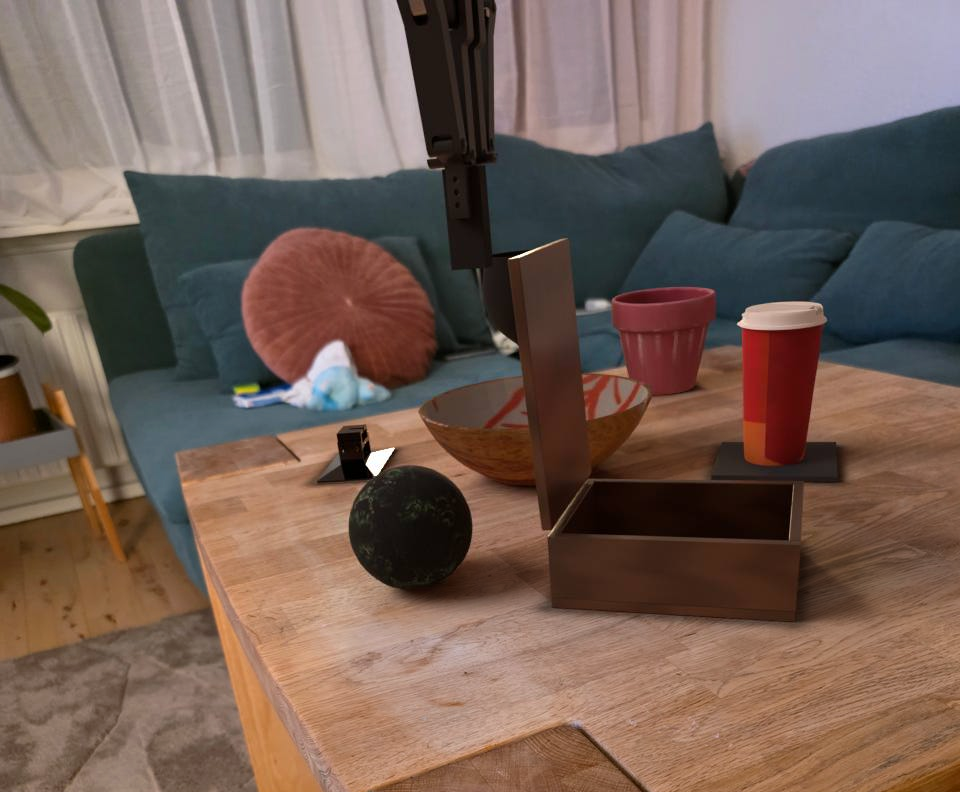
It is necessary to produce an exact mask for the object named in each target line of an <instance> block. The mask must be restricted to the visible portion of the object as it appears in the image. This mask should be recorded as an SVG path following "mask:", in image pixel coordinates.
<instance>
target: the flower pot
mask: <svg viewBox="0 0 960 792" xmlns="http://www.w3.org/2000/svg"><path fill="white" fill-rule="evenodd" d="M716 308H717V292H716V291H715V289H711V288H706V287H698V286H697V287H696V286H670V287H668V286H667V287H656V288H647V289H641V290H640V289H639V290H635V291H629V292H624V293H622V294H618V295H616V296H614V297H613V298H612V299H611V324H612V327H613V328H614V329H617V330H618V334H619V340H620V345H621V349H622V354H623V358H624V363H625V368H626V372H627V377H628V378H631V379H634V380H637V381H641V382H643V383H645V384H647V385H648V386H650V387H651V389H652V390H653V395H654V396H657V395H658V396H660V395H661V396H662V395H672V394H679V393H682V392H686V391H689V390H691V389H693V388H694V387H695V386H696V381H697V377H698V373H699V369H700V366H701V362H702V357H703V353H704V348H705V344H706V340H707V334H708V330H709V325H710V323H712V322H714V321H715V319H716V312H717V311H716V310H717V309H716ZM653 395H652V396H653Z"/></svg>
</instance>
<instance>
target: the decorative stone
mask: <svg viewBox="0 0 960 792" xmlns="http://www.w3.org/2000/svg"><path fill="white" fill-rule="evenodd" d="M473 529H474V527H473V517H472V512H471V508H470V506H469V503H468V501H467V500H466V497H465V496H464V494H463V492H462V490H461V489H460V488H459V487H458V485H456V483H455V482H454V481H452V480H451V479H450V478H449V477H447V476H446V475H445V474H443V473H441V472H440V471H438V470H436V469H433V468H431V467H427V466H423V465H415V464H406V465H398V466H393V467H391V468H387V469H385V470H382V471H381V473H379V474H378V475H376V476H374V477H373V478H372V479H371V480H370V481H366V483H365V484H364V485H363V487H361V489H360V490H359V492H358V493H357V495H356V497H355V498H354V501H353V502H352V505H351V508H350V513H349V518H348V538H349V543H350V547H351V549H352V551H353V554H354V555H355V557H356V560H357V561H358V562H359V564H360V566H361V567H362V568H363V569H364V570H365V571H366V572H367V573H368V574H369V575H370V576H372V577H373V578H374V579H376V580H377V581H379V582H380V583H382V584H383V585H385V586H388V587H390V588H393V589H398V590H406V591H415V590H416V591H421V590H426V589H429V588H432V587H435V586H437V585H440V584H441V583H442V582H445V580H447V579H448V578H450V577H451V576H452V575H454V573H455V572H456V571H457V570H458V569H459V568H460V567H461V565H462V563H463V562H464V560H465V559H466V558H467V555H468V553H469V550H470V547H471V545H472V544H471V543H472V540H473Z"/></svg>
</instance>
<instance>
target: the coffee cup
mask: <svg viewBox="0 0 960 792" xmlns="http://www.w3.org/2000/svg"><path fill="white" fill-rule="evenodd" d="M741 317H742V318H741V320H740V321H738V322H737V323H736V325H737V326H739V327H740V328H741V352H742V353H741V355H742V357H741V358H742V359H741V361H742V362H741V363H742V417H743V418H742V422H743V424H742V426H743V427H742V428H743V430H742V431H743V442H744V457H745V460H746V461H748V462H750V463H753V464H757V465H764V466H782V465H790V464H794V463H797V462H799V461H801V460H802V459H803V457H804V452H805V447H806V442H807V441H808V433H809V427H810V426H809V425H810V419H811V412H812V405H813V398H814V391H815V385H816V378H817V374H818V373H817V371H818V367H819V366H818V365H819V359H820V353H821V352H820V351H821V343H822V337H823V336H822V335H823V327H824V324H825V323H827V322H828V319H827V317H826V316H825V315H824V306H823V305H822V304H821V303H819V302H813V301H778V302H766V303H761V304H755V305H751V306H748V307H746V308H745V311H744V312H743V313H741Z"/></svg>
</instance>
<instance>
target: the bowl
mask: <svg viewBox="0 0 960 792" xmlns="http://www.w3.org/2000/svg"><path fill="white" fill-rule="evenodd" d="M582 381H583V391H584V401H585V411H586V422H587V432H588V442H589V453H590V463H591V470H592V469H594V468H595V467H597V466H598V465H599V464H601V463H603V462H604V461H605V460H607V459H608V458H610V457H612V456H613V455H614V454H615V453H616V452H617V451H618V450H619V449H620V448H621V447H622V445H624V443H625V442H626V441H627V440H628V439H629V438H630V437H631V436H632V435H633V433H634V431H635V430H636V429H637V428H638V426H639V424H640V422H641V421H642V419H643V417H644V415H645V413H646V411H647V409H648V407H649V405H650V402H651V400H652V398H653V390H652V389H651V387H650V386H648V385H647V384H645V383H643V382H641V381H637V380H634V379H631V378H629V377H628V376H627V377H626V376H621V375H617V374H615V375H614V374H604V373H591V372H590V373H589V372H582ZM417 411H418V412H417V413H418V414H419V417H420V419H421V420H422V422H423V423H424V425H425V426H426V428H427V430H428V431H429V433H430V435H432V437H433V439H434V440H435V441H436V442H437V444H439V446H441V448H442V449H443V450H445V452H446V453H447V454H449V455H450V456H451V457H452V458H454V459H455V460H456V461H457V462H459V463H460V464H461V465H462V466H464V467H465V468H468V469H470V470H471V471H474V472H475V473H478V474H480V475H482V476H483V477H486V478H488V479H491V480H492V481H495V482H498V483H500V484H503V485H507V486H515V487H536V480H535V472H534V464H533V456H532V448H531V441H530V433H529V425H528V417H527V409H526V401H525V393H524V385H523V377H522V375H520V376H519V375H518V376H511V377H503V378H497V379H492V380H485V381H479V382H476V383H472V384H468V385H467V384H466V385H463V386H460V387H457V388H452V389H450V390H447V391H444V392H442V393H440V394H437V395H435V396H433V397H431V398H430V399H427V400H426V401H425V402H424V403H423V404H421V405H419V409H418V410H417Z"/></svg>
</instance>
